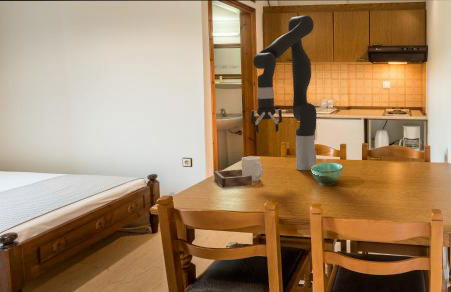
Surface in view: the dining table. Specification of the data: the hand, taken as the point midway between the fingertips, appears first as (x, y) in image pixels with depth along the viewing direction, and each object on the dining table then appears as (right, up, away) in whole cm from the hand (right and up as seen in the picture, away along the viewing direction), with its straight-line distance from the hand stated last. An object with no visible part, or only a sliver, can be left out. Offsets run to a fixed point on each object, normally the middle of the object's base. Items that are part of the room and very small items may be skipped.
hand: (266, 132), depth 234 cm
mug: (-6, -22, -2) cm, 23 cm away
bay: (-15, -23, -4) cm, 28 cm away
